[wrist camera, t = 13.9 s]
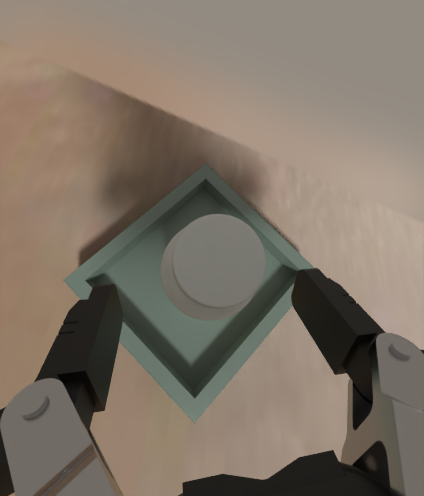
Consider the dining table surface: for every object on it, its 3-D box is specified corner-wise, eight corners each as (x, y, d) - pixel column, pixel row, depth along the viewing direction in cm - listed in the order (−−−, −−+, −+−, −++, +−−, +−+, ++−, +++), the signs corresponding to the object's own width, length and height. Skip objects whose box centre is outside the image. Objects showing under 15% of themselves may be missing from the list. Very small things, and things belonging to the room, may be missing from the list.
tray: (192, 406, 17) (194, 423, 15) (79, 283, 18) (63, 280, 16) (303, 276, 21) (319, 272, 18) (203, 178, 22) (205, 163, 19)
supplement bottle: (173, 320, 18) (162, 341, 8) (163, 254, 19) (143, 207, 9) (239, 306, 19) (296, 311, 9) (226, 243, 20) (264, 191, 10)
